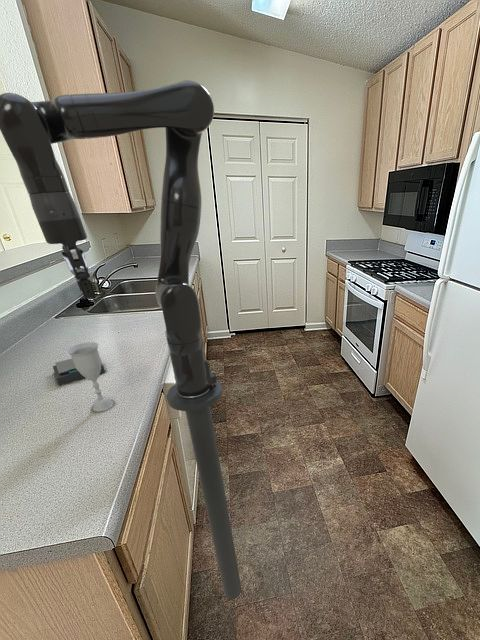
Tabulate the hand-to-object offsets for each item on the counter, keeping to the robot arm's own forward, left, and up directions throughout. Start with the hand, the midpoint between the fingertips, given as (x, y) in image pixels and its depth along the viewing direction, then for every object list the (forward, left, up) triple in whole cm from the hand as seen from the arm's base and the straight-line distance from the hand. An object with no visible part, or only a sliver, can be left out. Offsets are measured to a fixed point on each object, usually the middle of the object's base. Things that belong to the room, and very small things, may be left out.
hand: (88, 294), depth 76 cm
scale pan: (+6, -34, -30) cm, 46 cm away
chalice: (+4, -6, -33) cm, 34 cm away
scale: (+6, -33, -33) cm, 47 cm away
